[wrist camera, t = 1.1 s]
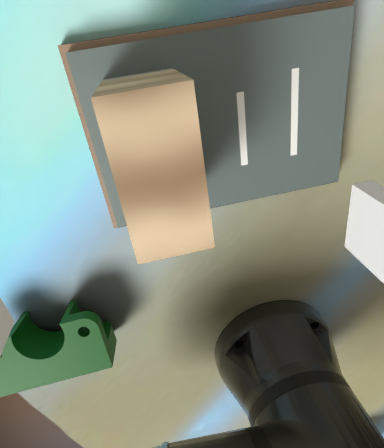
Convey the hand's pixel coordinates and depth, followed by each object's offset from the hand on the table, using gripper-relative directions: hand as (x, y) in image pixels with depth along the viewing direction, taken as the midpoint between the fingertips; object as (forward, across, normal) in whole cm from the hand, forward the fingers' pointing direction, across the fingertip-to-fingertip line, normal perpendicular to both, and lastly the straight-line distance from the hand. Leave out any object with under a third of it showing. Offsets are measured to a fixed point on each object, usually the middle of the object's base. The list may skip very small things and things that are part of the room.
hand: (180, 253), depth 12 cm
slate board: (+18, -6, 0) cm, 19 cm away
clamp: (+18, +14, +18) cm, 30 cm away
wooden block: (+16, 0, 0) cm, 16 cm away
